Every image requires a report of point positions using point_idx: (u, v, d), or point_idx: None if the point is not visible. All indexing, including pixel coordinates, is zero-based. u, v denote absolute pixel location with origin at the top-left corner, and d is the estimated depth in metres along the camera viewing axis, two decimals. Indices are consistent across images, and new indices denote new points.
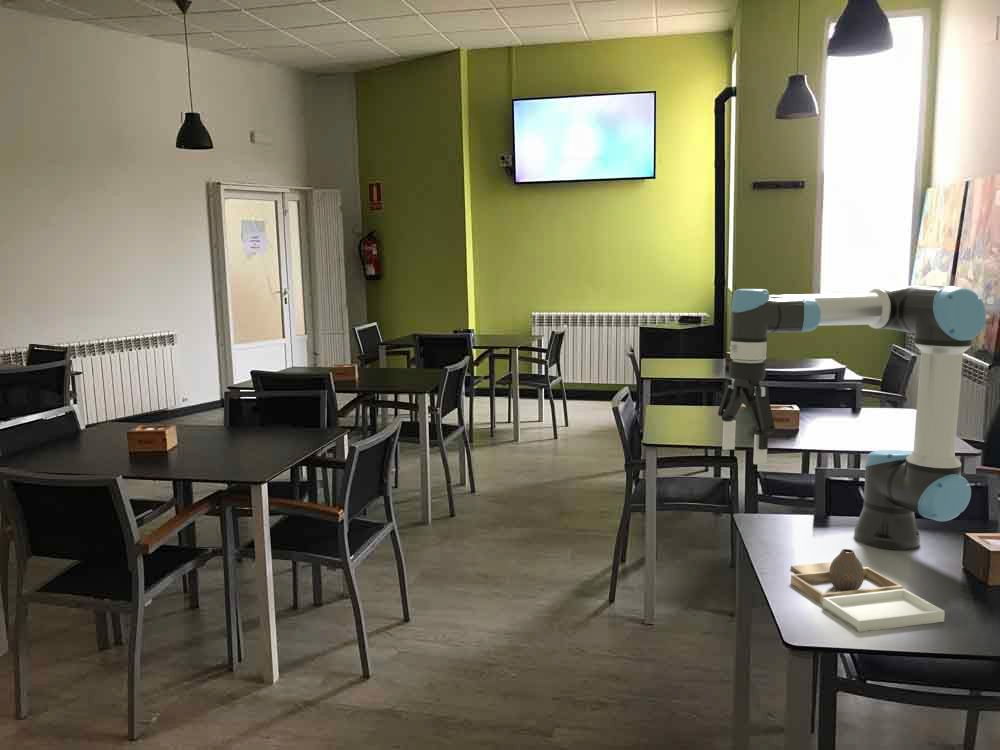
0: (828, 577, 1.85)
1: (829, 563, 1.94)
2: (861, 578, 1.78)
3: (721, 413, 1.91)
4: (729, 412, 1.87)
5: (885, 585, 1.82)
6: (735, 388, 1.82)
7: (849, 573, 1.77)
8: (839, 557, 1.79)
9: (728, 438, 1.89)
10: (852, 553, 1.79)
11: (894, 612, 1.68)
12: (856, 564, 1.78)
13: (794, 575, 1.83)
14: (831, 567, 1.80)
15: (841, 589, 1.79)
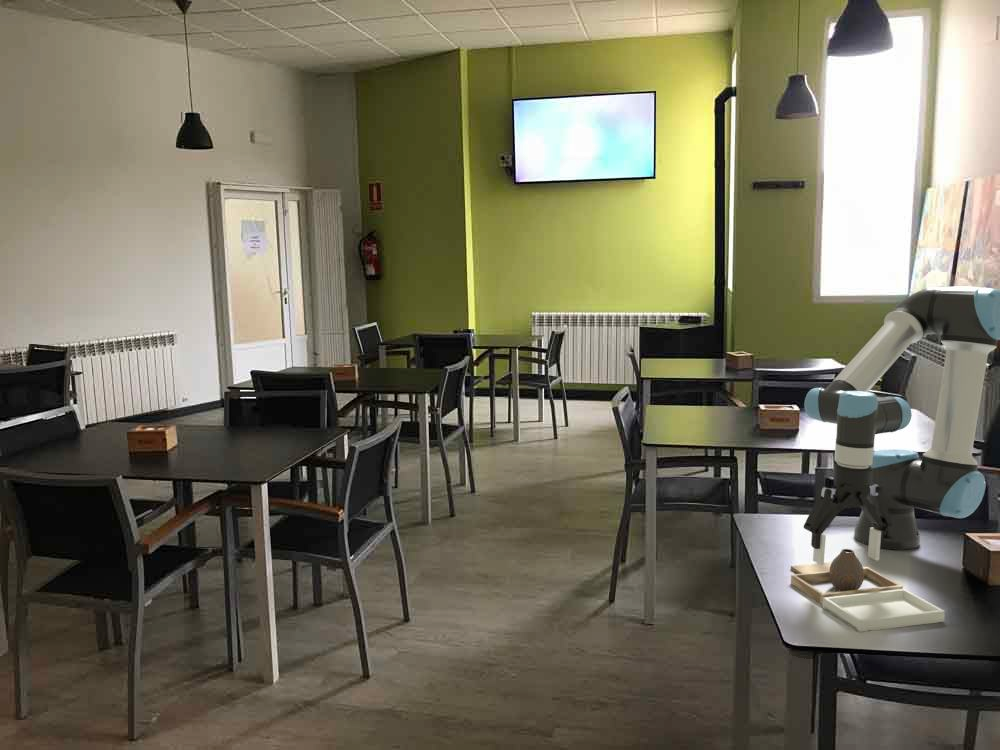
0: (828, 577, 1.85)
1: (829, 563, 1.94)
2: (861, 578, 1.78)
3: (881, 521, 1.82)
4: (869, 518, 1.80)
5: (885, 585, 1.82)
6: None
7: (849, 573, 1.77)
8: (839, 557, 1.79)
9: (871, 546, 1.81)
10: (852, 553, 1.79)
11: (894, 612, 1.68)
12: (856, 564, 1.78)
13: (794, 575, 1.83)
14: (831, 567, 1.80)
15: (841, 589, 1.79)
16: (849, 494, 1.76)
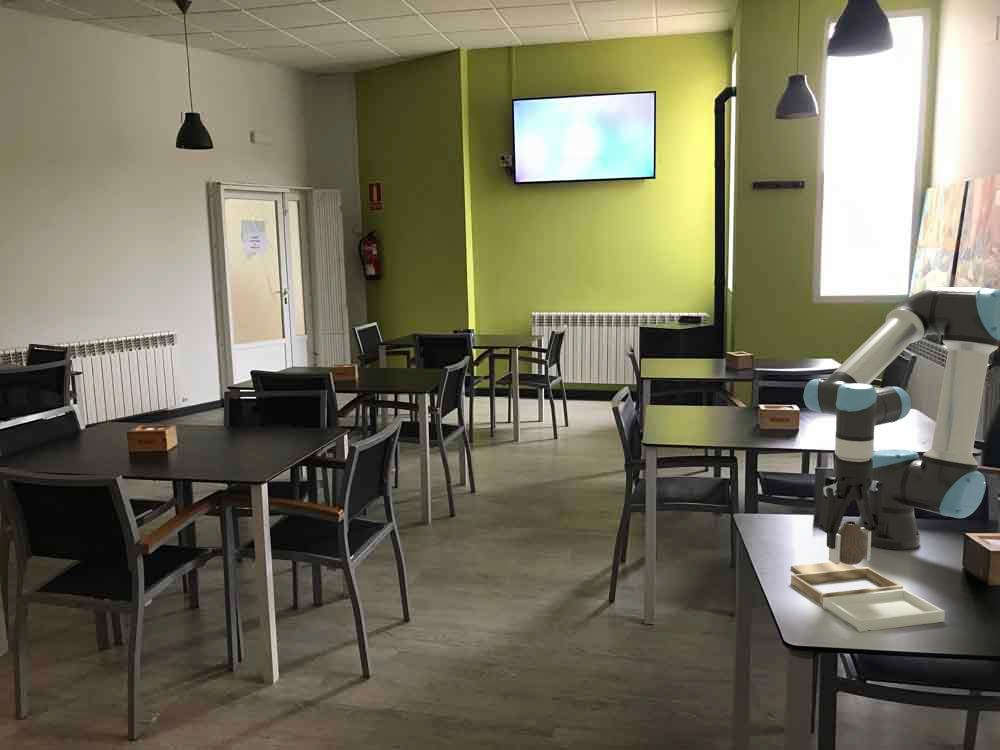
0: (828, 577, 1.85)
1: (829, 563, 1.94)
2: (864, 550, 1.77)
3: None
4: (861, 515, 1.80)
5: (885, 585, 1.82)
6: None
7: (853, 545, 1.76)
8: (842, 529, 1.79)
9: None
10: (855, 525, 1.78)
11: (894, 612, 1.68)
12: (860, 535, 1.77)
13: (794, 575, 1.83)
14: None
15: (844, 561, 1.78)
16: (850, 488, 1.75)
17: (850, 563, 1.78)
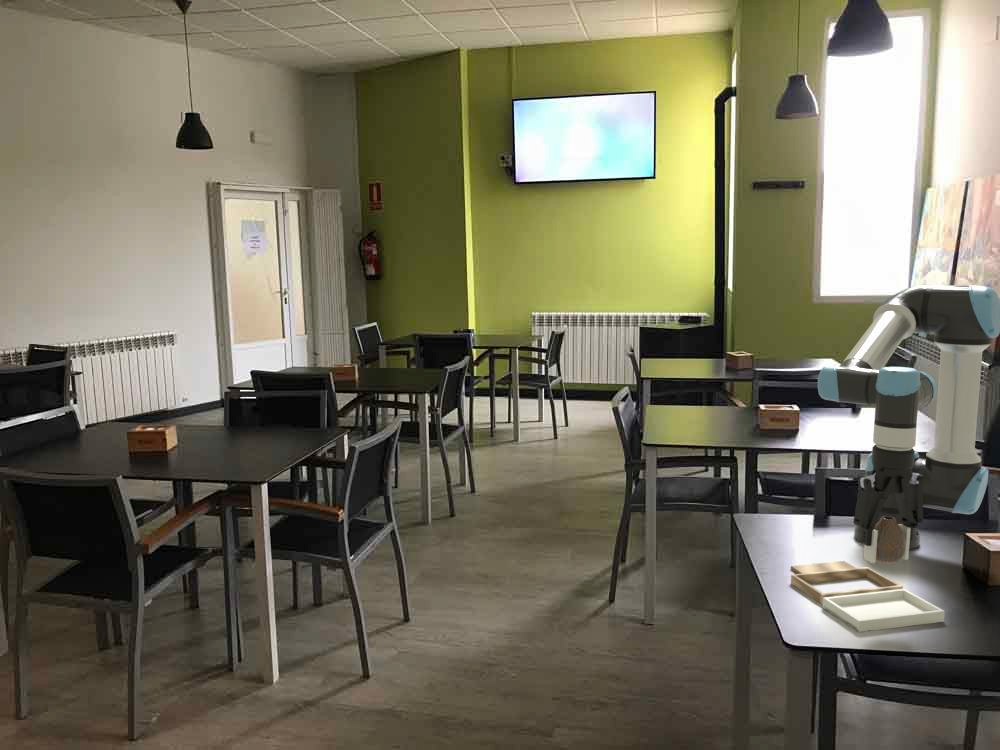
0: (828, 577, 1.85)
1: (829, 563, 1.94)
2: (903, 547, 1.63)
3: None
4: (900, 511, 1.66)
5: (885, 585, 1.82)
6: None
7: (891, 542, 1.62)
8: (879, 525, 1.65)
9: None
10: (894, 520, 1.64)
11: (894, 612, 1.68)
12: (898, 531, 1.63)
13: (794, 575, 1.83)
14: None
15: (881, 559, 1.64)
16: (889, 479, 1.62)
17: (887, 561, 1.64)
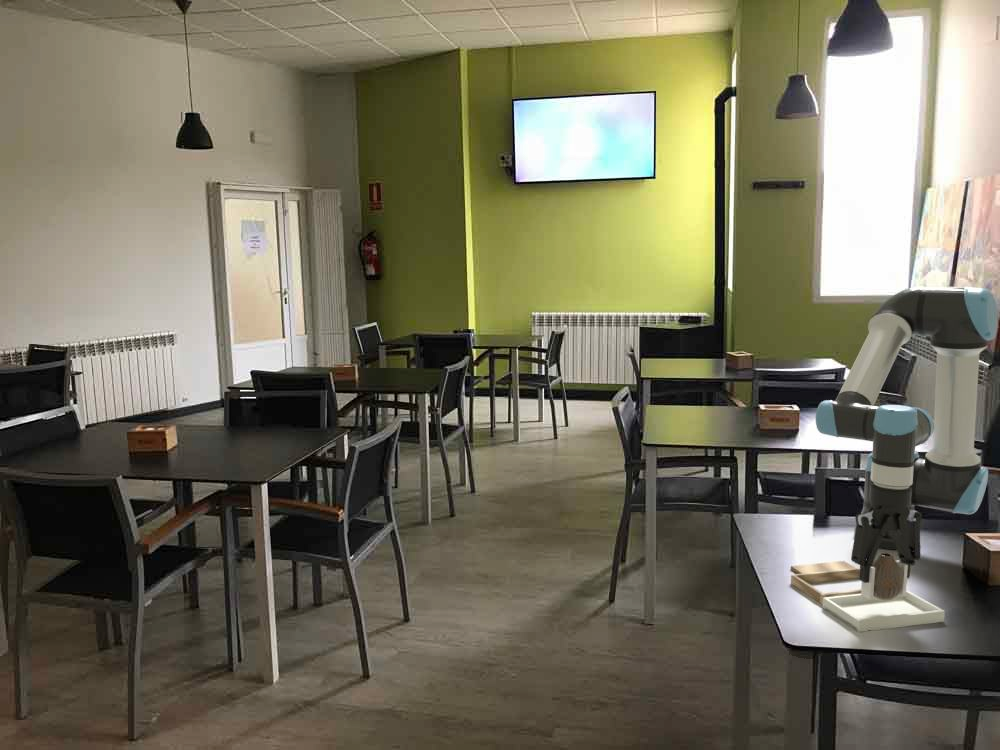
0: (828, 577, 1.85)
1: (829, 563, 1.94)
2: (900, 584, 1.64)
3: None
4: (897, 547, 1.68)
5: None
6: None
7: (888, 579, 1.64)
8: (876, 561, 1.66)
9: None
10: (891, 557, 1.65)
11: (894, 612, 1.68)
12: (896, 569, 1.64)
13: (794, 575, 1.83)
14: None
15: (879, 596, 1.65)
16: (887, 517, 1.63)
17: (885, 598, 1.65)
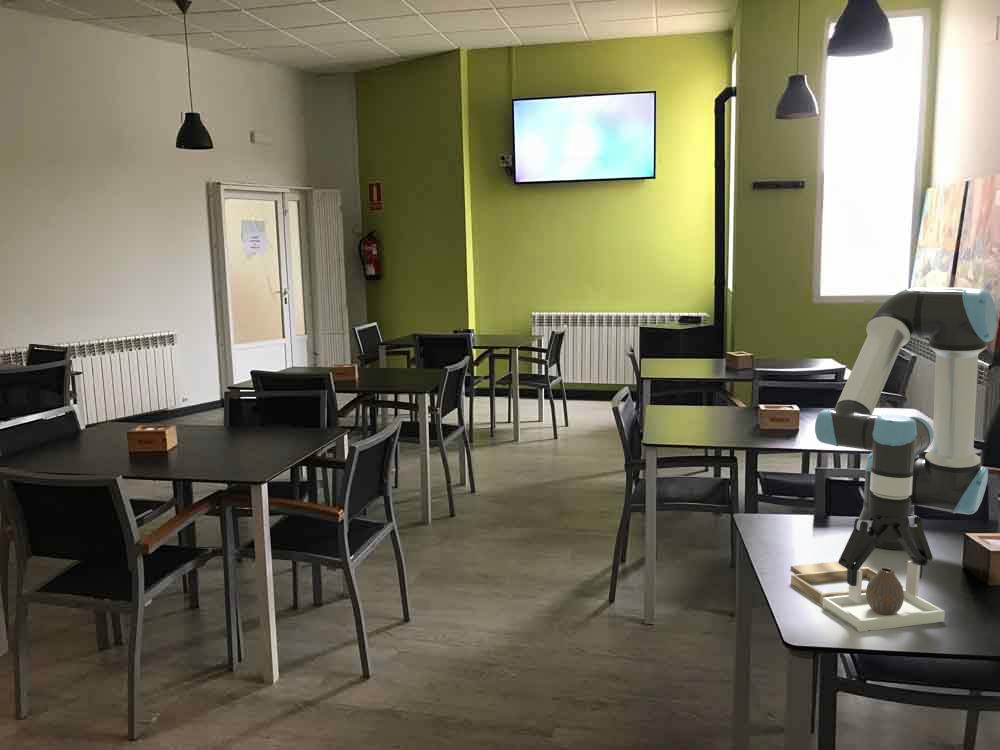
0: (828, 577, 1.85)
1: (829, 563, 1.94)
2: (901, 600, 1.65)
3: (919, 553, 1.69)
4: (907, 551, 1.68)
5: None
6: None
7: (889, 595, 1.64)
8: (877, 577, 1.67)
9: (909, 580, 1.69)
10: (892, 573, 1.66)
11: None
12: (896, 584, 1.65)
13: (794, 575, 1.83)
14: (868, 587, 1.68)
15: (879, 611, 1.66)
16: (887, 526, 1.63)
17: (885, 614, 1.66)
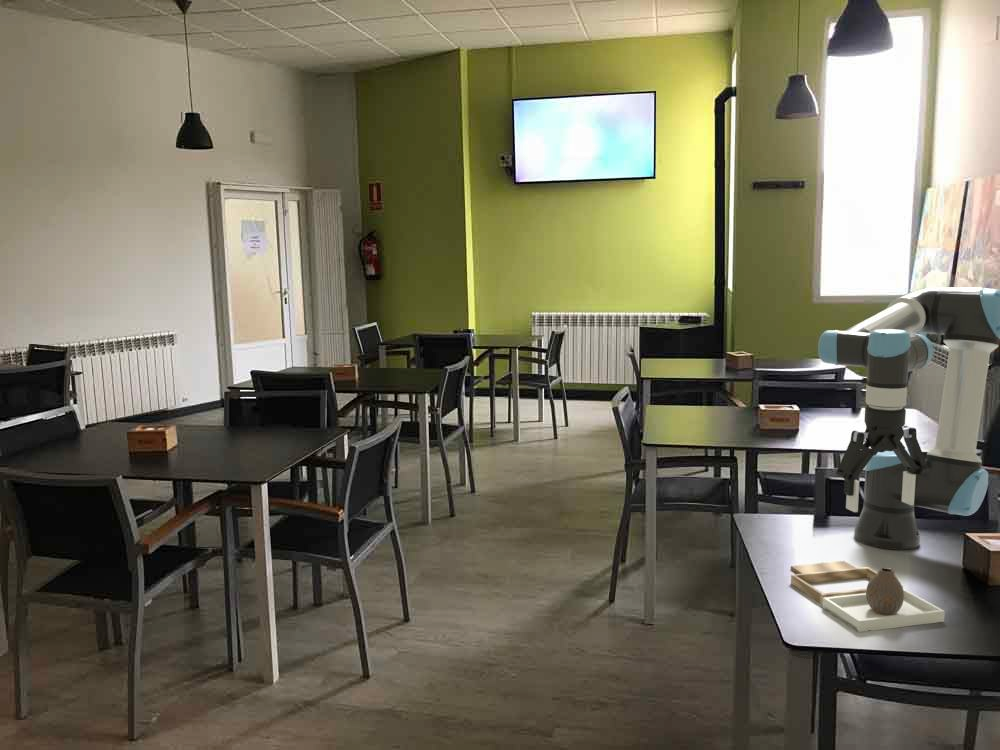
0: (828, 577, 1.85)
1: (829, 563, 1.94)
2: (901, 600, 1.65)
3: None
4: (902, 462, 1.73)
5: None
6: None
7: (889, 595, 1.64)
8: (877, 577, 1.67)
9: (905, 490, 1.74)
10: (892, 573, 1.66)
11: None
12: (896, 584, 1.65)
13: (794, 575, 1.83)
14: (868, 587, 1.68)
15: (879, 611, 1.66)
16: (882, 437, 1.68)
17: (885, 614, 1.66)
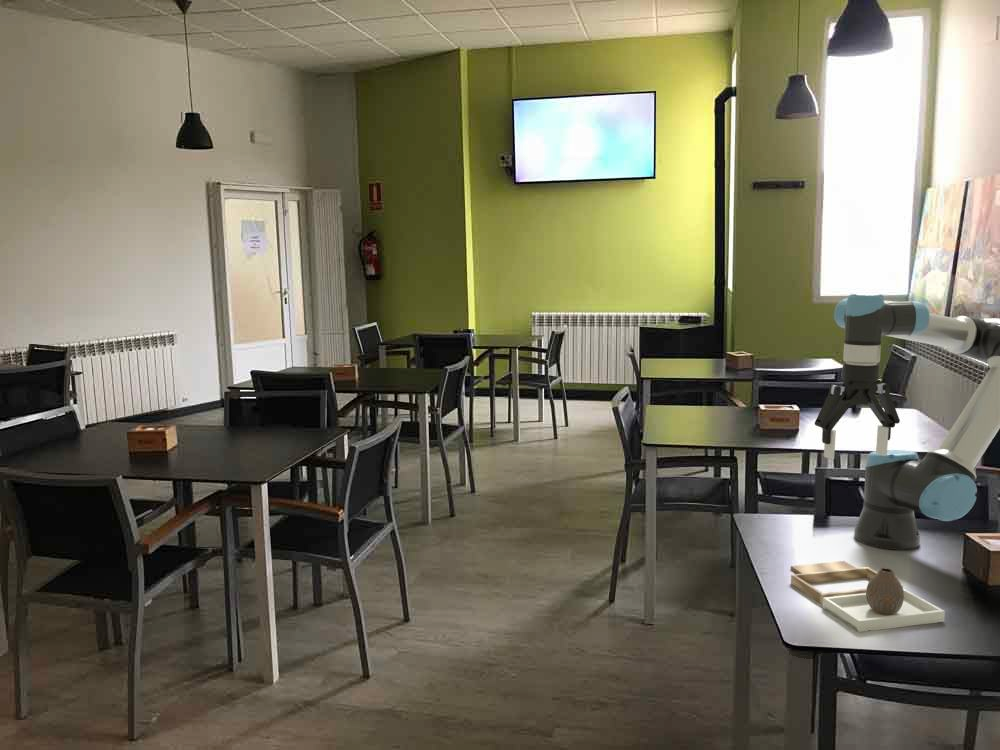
0: (828, 577, 1.85)
1: (829, 563, 1.94)
2: (901, 600, 1.65)
3: None
4: (876, 416, 1.89)
5: None
6: None
7: (889, 595, 1.64)
8: (877, 577, 1.67)
9: (879, 442, 1.90)
10: (892, 573, 1.66)
11: None
12: (896, 584, 1.65)
13: (794, 575, 1.83)
14: (868, 587, 1.68)
15: (879, 611, 1.66)
16: (858, 391, 1.84)
17: (885, 614, 1.66)
